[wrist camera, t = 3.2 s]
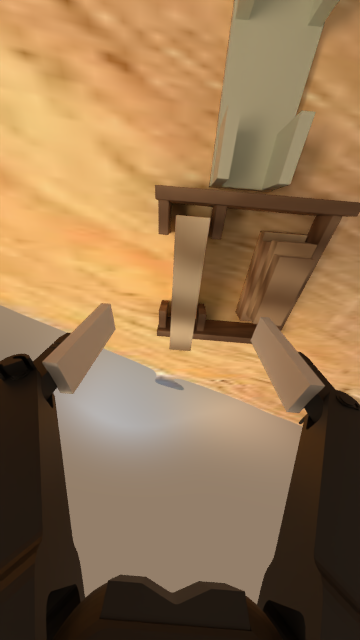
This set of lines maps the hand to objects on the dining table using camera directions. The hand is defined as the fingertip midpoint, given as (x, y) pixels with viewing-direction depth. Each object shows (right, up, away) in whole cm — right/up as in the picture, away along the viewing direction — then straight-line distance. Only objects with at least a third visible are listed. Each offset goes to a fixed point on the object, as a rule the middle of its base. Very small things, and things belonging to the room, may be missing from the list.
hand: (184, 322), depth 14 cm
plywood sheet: (+1, +9, +13) cm, 16 cm away
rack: (+8, +8, +13) cm, 17 cm away
